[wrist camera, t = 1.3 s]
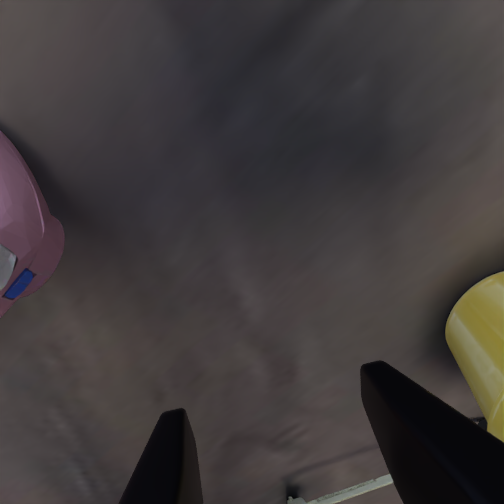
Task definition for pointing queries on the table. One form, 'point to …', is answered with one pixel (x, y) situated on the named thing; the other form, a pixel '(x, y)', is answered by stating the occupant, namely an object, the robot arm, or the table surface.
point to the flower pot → (481, 346)
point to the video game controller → (24, 230)
